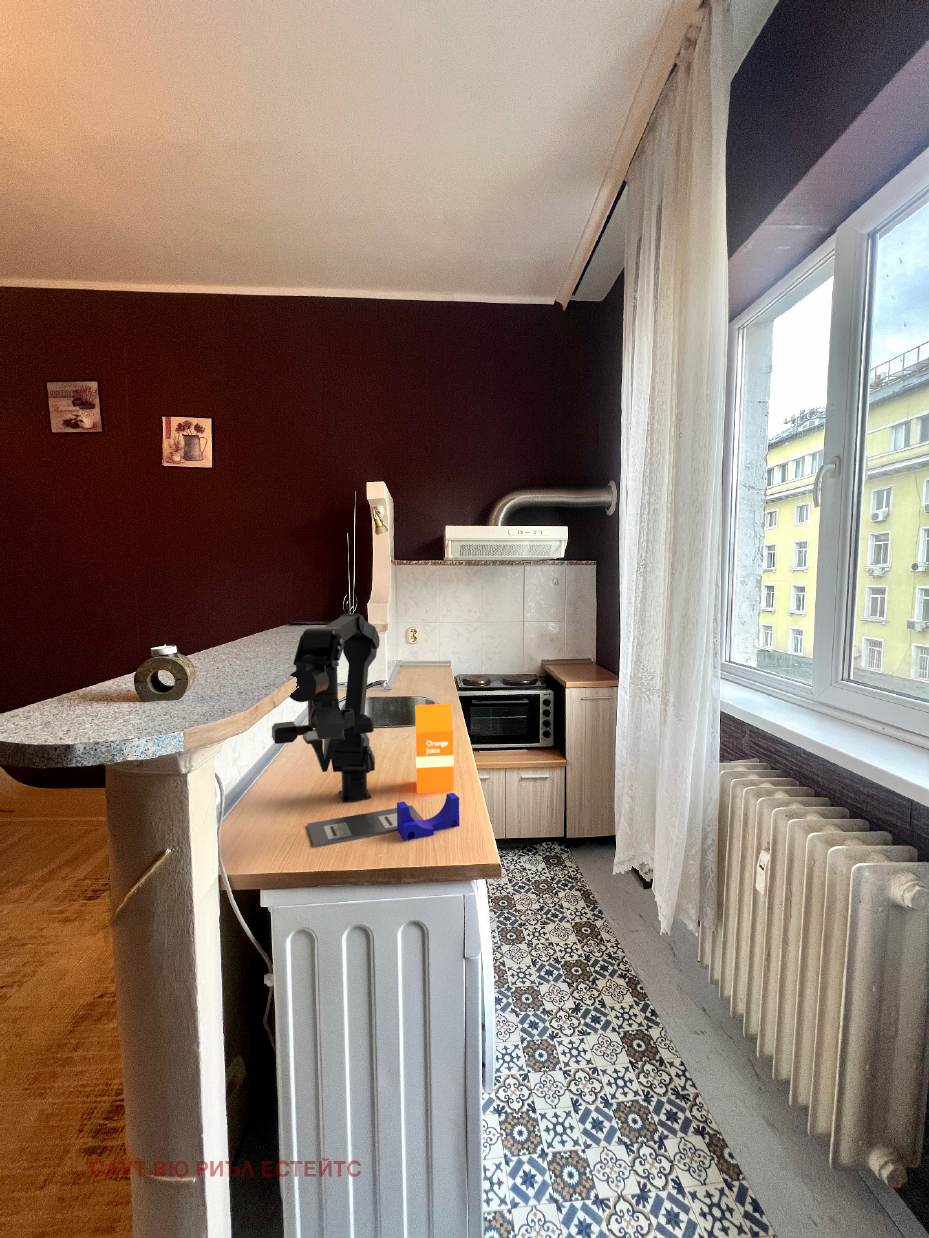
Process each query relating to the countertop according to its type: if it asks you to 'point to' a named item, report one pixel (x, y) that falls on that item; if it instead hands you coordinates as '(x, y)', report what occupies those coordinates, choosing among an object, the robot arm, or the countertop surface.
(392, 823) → the plate
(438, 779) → the orange juice
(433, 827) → the blue cradle bracket
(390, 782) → the countertop surface
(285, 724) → the robot arm
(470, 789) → the countertop surface
